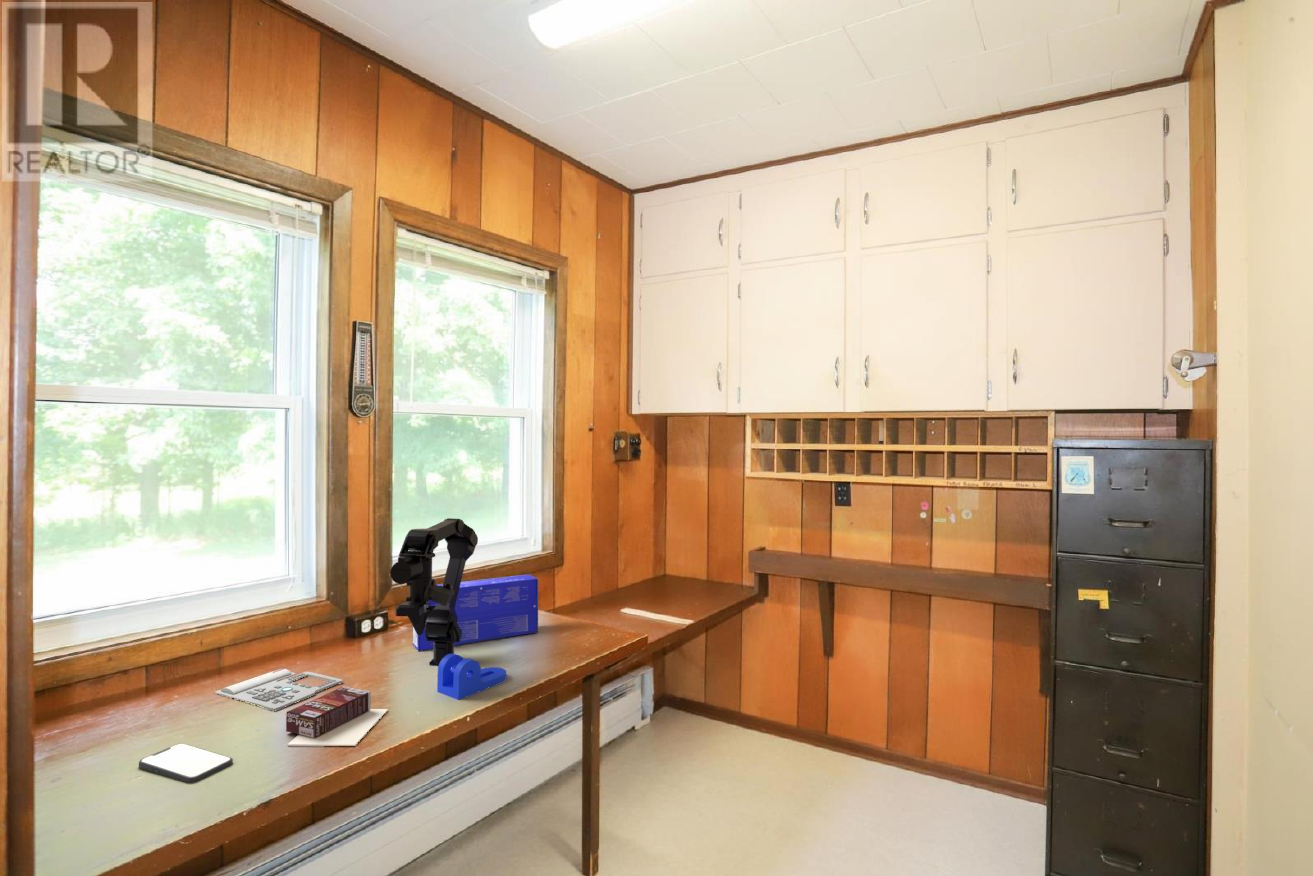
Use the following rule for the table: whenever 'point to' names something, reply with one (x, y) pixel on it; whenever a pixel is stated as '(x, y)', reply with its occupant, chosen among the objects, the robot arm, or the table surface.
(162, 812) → the table surface
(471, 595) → the toner cartridge box
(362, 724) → the mat
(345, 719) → the supplement box
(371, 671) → the table surface
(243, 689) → the office telephone
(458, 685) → the bracket
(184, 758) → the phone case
